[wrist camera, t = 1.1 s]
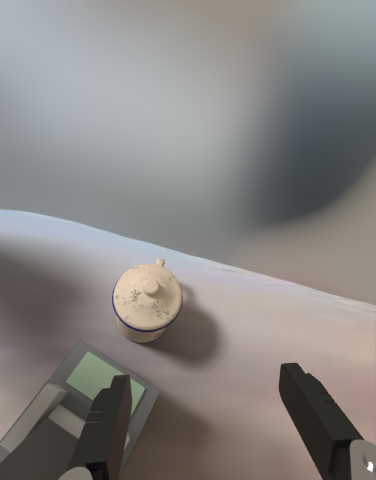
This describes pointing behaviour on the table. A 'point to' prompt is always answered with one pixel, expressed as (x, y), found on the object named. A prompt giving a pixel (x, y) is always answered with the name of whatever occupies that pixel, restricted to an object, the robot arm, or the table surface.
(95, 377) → the breaker box
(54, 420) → the lever
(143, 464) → the table surface
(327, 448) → the robot arm
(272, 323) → the table surface
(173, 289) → the teacup with lid
